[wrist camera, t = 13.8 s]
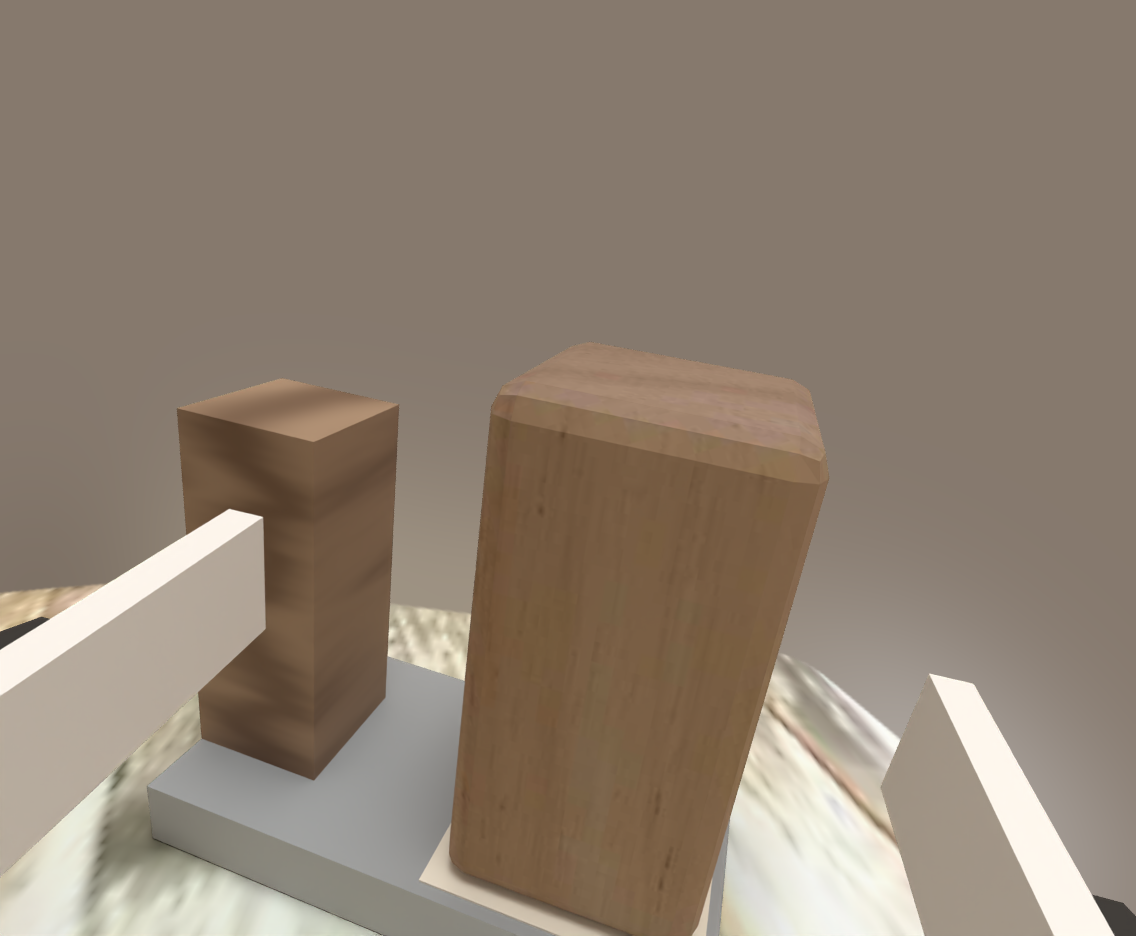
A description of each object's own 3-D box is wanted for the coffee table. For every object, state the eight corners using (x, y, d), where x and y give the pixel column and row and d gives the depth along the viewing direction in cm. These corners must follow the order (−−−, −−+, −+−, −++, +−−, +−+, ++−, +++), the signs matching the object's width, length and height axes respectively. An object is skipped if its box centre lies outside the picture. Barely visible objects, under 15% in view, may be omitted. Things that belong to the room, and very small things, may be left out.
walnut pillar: (201, 738, 32) (176, 408, 26) (287, 664, 37) (282, 378, 31) (314, 780, 30) (314, 441, 25) (385, 697, 36) (398, 404, 30)
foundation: (152, 838, 30) (146, 784, 29) (320, 677, 41) (320, 633, 40) (694, 1066, 25) (712, 1011, 23) (721, 811, 35) (734, 765, 34)
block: (521, 712, 36) (572, 334, 29) (711, 771, 34) (817, 379, 27) (437, 876, 27) (481, 380, 20) (690, 970, 25) (843, 454, 18)
